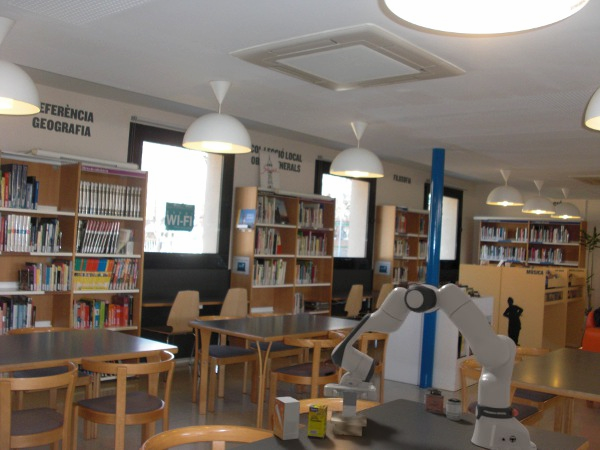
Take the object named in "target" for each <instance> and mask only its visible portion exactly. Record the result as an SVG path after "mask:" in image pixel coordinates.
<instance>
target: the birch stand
mask: <svg viewBox="0 0 600 450" xmlns="http://www.w3.org/2000/svg"><path fill="white" fill-rule="evenodd" d="M330 424H331V425H334V429H333V430H334V431H333V432H334V435H342V434H344V435H345V436H354V435H355V437H357V436H358V437H362V434H363V427H367V425H368V424H367V414H362V413H356V420H350V419H342V412H338V411H332V413H331V416H330ZM344 435H343V436H344Z"/></svg>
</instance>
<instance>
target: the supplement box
mask: <svg viewBox="0 0 600 450" xmlns="http://www.w3.org/2000/svg"><path fill="white" fill-rule="evenodd" d="M328 407H329V405H327V404H321V403H311V404H310V406H309V408H308V421H307V438H308V439H309V438H310V439H317V440H324V439H325V437H326V435H327V424H328V423H327V422H328Z"/></svg>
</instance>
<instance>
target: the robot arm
mask: <svg viewBox="0 0 600 450" xmlns="http://www.w3.org/2000/svg"><path fill="white" fill-rule="evenodd" d="M439 310H441V311H442V312H443V313H444V314H445V315H446V317H447V318H448V319H449V320H450V321H451V323H452V324H453V325H454V326H455V328H456V329H457V330H458V331H459V332H460V333H461V335H462V336H463V338H464V340H465V341H466V343H467V345H468V347H469V349H470V350H471V352H472V354H473V357H474V360H475V361H476V363H477V364H478V365H479V366H481V367H482V368H481V373H480V377H479V379H478V386H477V387H478V388H477V390H478V391H477V401H476V404H475V405H476V406H475V425H474V430H473V434H472V438H471V439H470V441H471V443H473V444H474V445H476V446H479V447H481V448H484V449H488V450H538V448H537V444H535V443H534V442H533V441H531V437H530V436H531V435H530V432H529V429H528V428H526V426H524V425H523V424H522V423H521V422H520V421H519V420H518V418H516V417H517V416H518V415H519V411H518V410H517V409H515V408H514V407H512V406H510V399H511V397H510V396H511V382H512V376H513V371H514V368H515V367H514V365H515V358H516V355H517V354H516V353H517V346H516V343H515V341H514V339H512V338H511V337H509V336H507V335H505V334H497V333H496V332H495V331H494V329H493V328H492V326H491V325H490V322H489V320H488V318H487V315H485V314H484V313H483V311H482V310H481V309H480V308H479V306H478V305H477V304H476V303H475V302H474V301H473V300H472V298H471V297H470V296H469V295H468V294H467V293H466V292H465V291H463V289H461V287H459V286H458V285H457V284H454V283H447V284H444V285H443V286H441V287H439V286H437V285H433V284H423V283H422V284H415V285H412V286H410V287H409V288H408V289H407V288H405V287H400V286H398V287H395V288H393V289H392V290H391V291H390V293H389V294H388V295H387V296H386V298H385V299H384V301H383V302H382V303H381V305H380V307H378V309H377V310H375V311H374V312H373V313H366V314H365V315H364V316H363V317H362V318H360V320H359V321H358V322H357V324H356V325H354V327H353V328H352V329H351V330H350V331H349V333H348V334H347V335H346V336H345V337H344V338H343V339H342V340H341V341H340V342H339V343H338V344H337V345H336V346H335V347H334V348H333V350H332V352H331V354H330V358H331V360H332V363H333V365H334V366H336V367H338V368H340V369H343V370H344V371H347V372H346V373H344V374H343V375H342V376H341V378H340V381H339V383H326V384H325V385H324V387H323V396H325V397H333V398H343V391H344V389H354V390H357V400H371V401H376V399H377V388H376V386H375V385H373V381H371V379H372V378H373V376H374V374H375V370H376V362H375V360H374V359H375V358H373V357H371V356H369V355H367V354H366V353H364V352H362V351H360V350H358V349H356V347H353V345H354V343H355V342H356V341H357V340H358V339H359V338H360V336H362V334H364V333H366V332H367V333H368V332H375V333H380V334H393V333H395V332H397V331H398V330H400V328H401V327H402V326H403V324H404V322H405V321H406V320H407V318H408V316H409V314H410V313H411V312H412V313H417V314H421V313H422V314H423V313H424V314H429V313H433V312H437V311H439Z"/></svg>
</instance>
